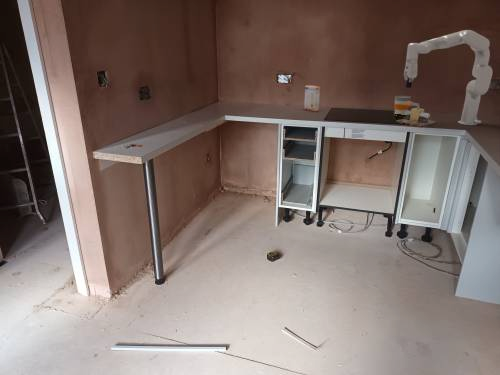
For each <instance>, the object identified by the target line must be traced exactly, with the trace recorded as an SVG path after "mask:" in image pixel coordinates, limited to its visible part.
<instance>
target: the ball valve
mask: <svg viewBox="0 0 500 375" xmlns="http://www.w3.org/2000/svg"><path fill="white" fill-rule="evenodd" d="M416 108H417V107H414V108H410V109H411V110H409V109H408V110H406V111H405V115H408V116H410V121H414V122H420V121H421V118H425V119H428V120H429V119H430V116H431V114H430V113H428V112H425V109H424V108H419V109H416Z"/></svg>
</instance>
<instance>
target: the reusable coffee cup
mask: <svg viewBox="0 0 500 375" xmlns="http://www.w3.org/2000/svg"><path fill="white" fill-rule="evenodd" d="M407 101H409V102H412V96H410V95H395V96H394V104H393V105H394V106H393V109H394V115H395V114H401V115H405V111H406V110H409V108H410V106H409V105H405V104H406V102H407Z"/></svg>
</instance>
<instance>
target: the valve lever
mask: <svg viewBox="0 0 500 375" xmlns="http://www.w3.org/2000/svg"><path fill="white" fill-rule="evenodd" d="M405 105H409V107H411V106H413V107H415V108H416V109H419V108H420V103H416V102H414V101H410V102H409V101H407V102H406V104H405ZM420 109H421V108H420Z"/></svg>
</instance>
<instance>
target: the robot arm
mask: <svg viewBox="0 0 500 375" xmlns="http://www.w3.org/2000/svg"><path fill="white" fill-rule="evenodd" d="M490 43H491V42H490V39H488V38H487V37H485V36H483V35H481V34H479V33H477V32H476V31H474V30H471V29H464V30H460V31H457V32H453V33H449V34H445V35H442V36H439V37H436V38H432V39H429V40H425V41H421V42H420V43H418V42H411V43H408V45H407V50H406V58H405V59H406V61H405V67H404V71H403V78H404V81H405V82H406V86H405V88H408V89H409V88H412V83H413V81H414V79H415V78H417V76H418V59H419V57H418V56H419V54H429V53H430V52H431V51H434V50H439V49H440V50H441V49H449V48H451V47H455V46H458V45H463V44H466V45H468V46H470V49H471V50H472V51H473V52H474V54H475V58H474V62H473V67H472V72H471V73H472V74H471V75H472V76H473V77H474V78H476V79H473V80H471V81H469V82H468V83H467V85H466V88H465V90H466V91H465V99H464V103H463V109H462V113H461V118H460V120H458V121H457V123H458V124H460V125H465V126H477V125H478V124H481V123H482V120H480V119H478V117H477V115H478V111H479V106H480V102H481V96H484V95H485V94H486V93H487V92H488V91H489V89H490V85H491V81H492V76H493V68H492V67H491V66H490V65H489V62H490V56H491V55H490V53H491V52H490Z"/></svg>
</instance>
